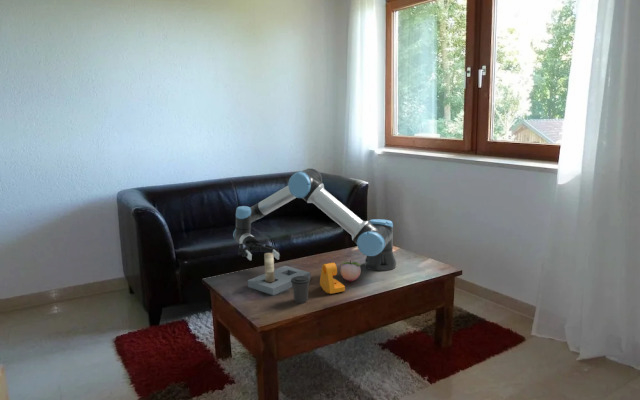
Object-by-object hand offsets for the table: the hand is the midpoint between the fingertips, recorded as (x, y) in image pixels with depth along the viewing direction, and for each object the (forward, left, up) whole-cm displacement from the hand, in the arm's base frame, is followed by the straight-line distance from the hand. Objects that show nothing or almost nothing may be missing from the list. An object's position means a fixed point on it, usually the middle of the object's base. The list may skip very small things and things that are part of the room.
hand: (264, 257), depth 221 cm
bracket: (-33, -8, -11) cm, 35 cm away
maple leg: (-9, +6, -10) cm, 15 cm away
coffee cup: (-30, +9, -11) cm, 33 cm away
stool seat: (-9, 0, -10) cm, 14 cm away
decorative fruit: (-34, -20, -11) cm, 41 cm away
